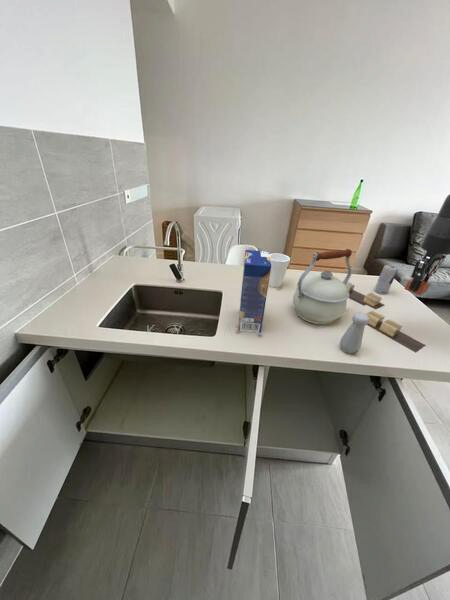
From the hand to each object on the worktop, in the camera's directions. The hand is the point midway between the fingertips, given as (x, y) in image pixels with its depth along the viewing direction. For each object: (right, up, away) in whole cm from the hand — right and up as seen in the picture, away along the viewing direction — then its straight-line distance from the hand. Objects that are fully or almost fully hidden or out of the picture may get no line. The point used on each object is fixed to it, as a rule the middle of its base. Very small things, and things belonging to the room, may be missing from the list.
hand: (416, 288), depth 76 cm
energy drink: (+11, 0, +34) cm, 36 cm away
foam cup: (-37, +3, +35) cm, 52 cm away
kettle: (-24, -9, +17) cm, 31 cm away
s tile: (0, -1, 0) cm, 1 cm away
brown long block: (-3, -3, +28) cm, 29 cm away
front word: (-3, -15, +8) cm, 17 cm away
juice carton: (-51, -11, +10) cm, 53 cm away
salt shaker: (-21, -19, 0) cm, 29 cm away
